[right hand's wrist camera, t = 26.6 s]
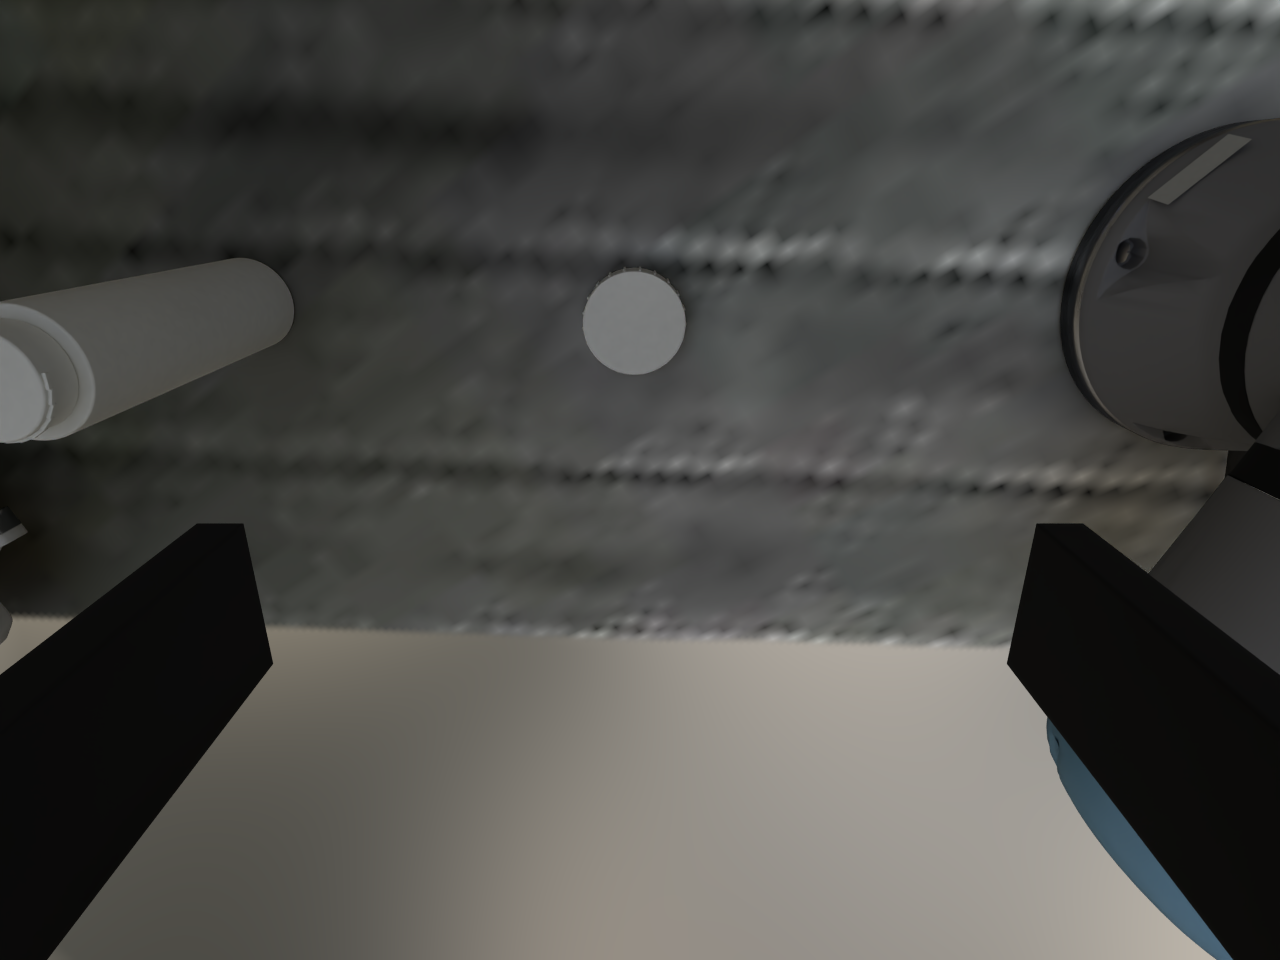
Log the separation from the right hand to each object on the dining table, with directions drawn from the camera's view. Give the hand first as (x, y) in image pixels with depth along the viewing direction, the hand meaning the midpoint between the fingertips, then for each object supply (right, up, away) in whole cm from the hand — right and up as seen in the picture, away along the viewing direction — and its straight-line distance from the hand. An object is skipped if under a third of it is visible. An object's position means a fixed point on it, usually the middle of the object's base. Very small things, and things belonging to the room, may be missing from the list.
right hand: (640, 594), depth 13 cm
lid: (0, +10, +24) cm, 26 cm away
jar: (-20, +11, +25) cm, 33 cm away
